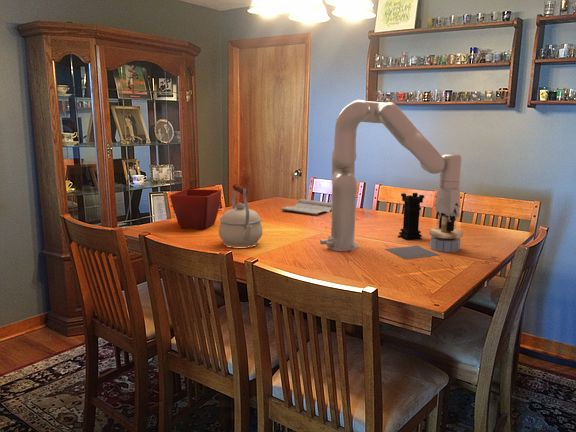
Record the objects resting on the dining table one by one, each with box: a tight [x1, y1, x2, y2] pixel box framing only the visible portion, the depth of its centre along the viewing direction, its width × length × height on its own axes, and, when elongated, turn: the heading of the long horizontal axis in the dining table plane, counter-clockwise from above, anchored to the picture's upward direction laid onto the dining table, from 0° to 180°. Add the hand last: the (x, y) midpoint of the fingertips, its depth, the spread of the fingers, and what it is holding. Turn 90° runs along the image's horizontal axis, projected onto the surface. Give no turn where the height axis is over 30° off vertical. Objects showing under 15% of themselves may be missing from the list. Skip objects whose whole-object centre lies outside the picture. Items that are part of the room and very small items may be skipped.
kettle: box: [218, 183, 264, 247], centre depth 205 cm, size 25×18×25 cm
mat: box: [281, 198, 332, 217], centre depth 281 cm, size 23×24×5 cm
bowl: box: [429, 235, 461, 253], centre depth 202 cm, size 11×11×5 cm
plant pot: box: [169, 188, 222, 230], centre depth 240 cm, size 19×19×17 cm
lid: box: [428, 214, 464, 239], centre depth 200 cm, size 13×13×8 cm
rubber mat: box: [384, 245, 440, 260], centre depth 197 cm, size 16×15×1 cm
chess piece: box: [397, 192, 425, 241], centre depth 217 cm, size 8×8×20 cm
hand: (446, 229), depth 200 cm, fingers closed on lid, 4 cm apart
